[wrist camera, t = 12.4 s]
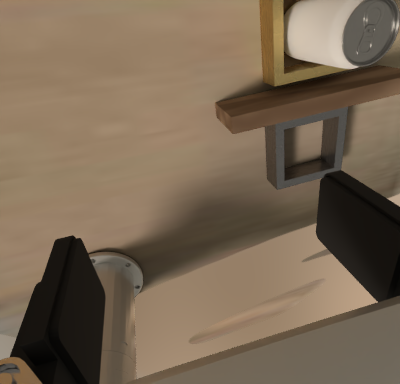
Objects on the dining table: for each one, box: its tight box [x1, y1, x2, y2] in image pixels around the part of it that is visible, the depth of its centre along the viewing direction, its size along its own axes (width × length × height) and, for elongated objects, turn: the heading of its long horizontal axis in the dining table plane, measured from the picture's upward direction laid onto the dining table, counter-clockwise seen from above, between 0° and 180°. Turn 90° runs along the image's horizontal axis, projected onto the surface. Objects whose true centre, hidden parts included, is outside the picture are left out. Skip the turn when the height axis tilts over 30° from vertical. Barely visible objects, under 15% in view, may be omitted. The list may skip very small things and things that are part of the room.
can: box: [283, 0, 400, 69], centre depth 30 cm, size 6×6×12 cm
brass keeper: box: [260, 0, 350, 86], centre depth 34 cm, size 10×10×4 cm
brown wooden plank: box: [215, 65, 400, 134], centre depth 36 cm, size 2×24×7 cm, turn 99°
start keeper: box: [265, 107, 348, 190], centre depth 42 cm, size 10×10×4 cm
